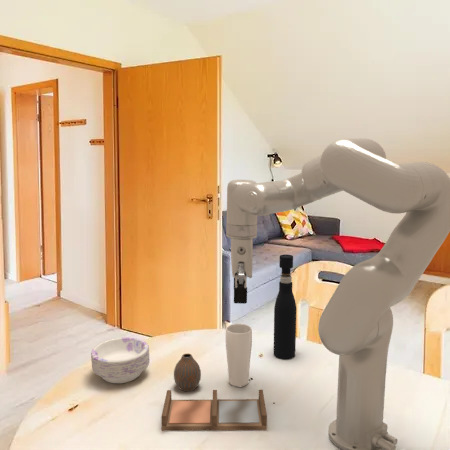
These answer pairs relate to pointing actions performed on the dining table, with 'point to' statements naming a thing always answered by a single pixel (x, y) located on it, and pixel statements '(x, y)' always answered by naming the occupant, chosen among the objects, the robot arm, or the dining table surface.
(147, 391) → the dining table surface
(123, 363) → the paper bowls
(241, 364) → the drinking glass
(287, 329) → the wine bottle
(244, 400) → the slot rack
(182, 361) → the vase
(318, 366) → the dining table surface
